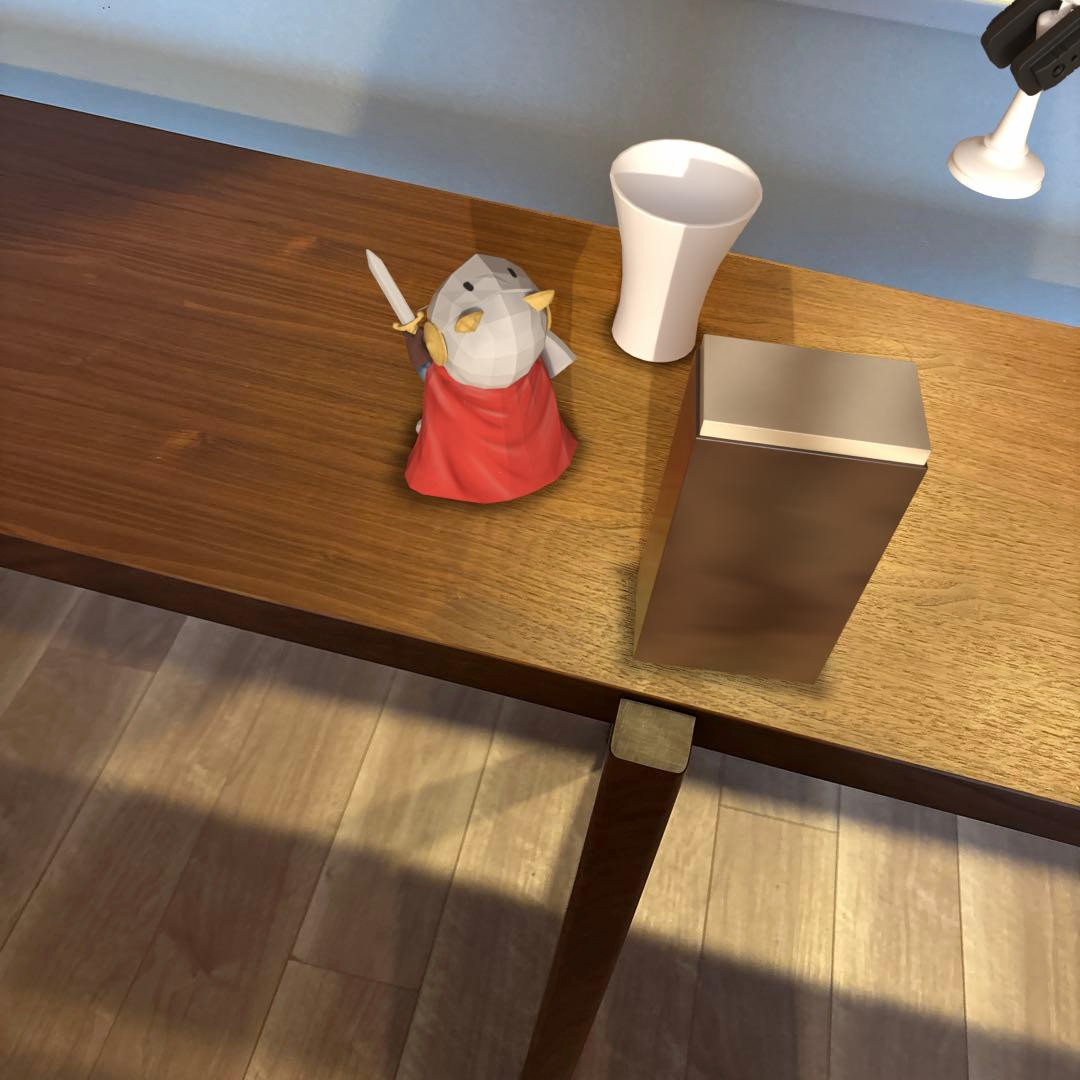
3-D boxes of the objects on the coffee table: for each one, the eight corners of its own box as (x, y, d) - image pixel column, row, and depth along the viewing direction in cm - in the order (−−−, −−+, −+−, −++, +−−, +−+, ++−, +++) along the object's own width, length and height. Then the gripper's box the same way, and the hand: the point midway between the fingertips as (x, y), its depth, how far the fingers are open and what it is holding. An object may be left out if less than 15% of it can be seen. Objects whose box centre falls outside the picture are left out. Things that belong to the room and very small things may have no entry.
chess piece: (967, 137, 60) (1046, -56, 53) (1053, 171, 59) (1148, -22, 51) (932, 173, 58) (1009, -24, 50) (1021, 211, 56) (1116, 13, 48)
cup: (725, 387, 82) (770, 234, 72) (585, 375, 82) (610, 218, 71) (716, 298, 89) (756, 145, 78) (586, 286, 88) (609, 131, 78)
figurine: (549, 375, 81) (571, 197, 70) (595, 489, 74) (629, 313, 63) (371, 397, 78) (364, 215, 67) (403, 518, 71) (401, 339, 60)
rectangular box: (808, 598, 70) (919, 360, 55) (814, 685, 66) (936, 454, 51) (637, 575, 70) (700, 330, 55) (632, 661, 66) (699, 422, 51)
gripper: (1241, -355, 48) (903, -49, 55) (1497, -254, 40) (1064, 93, 46) (1267, -215, 54) (956, 49, 60) (1497, -100, 45) (1108, 192, 52)
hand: (1005, 67), depth 53 cm, fingers closed on chess piece, 2 cm apart
